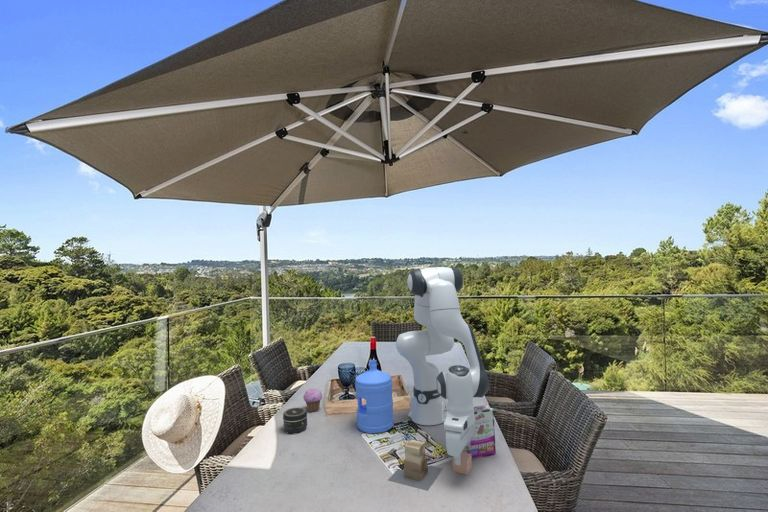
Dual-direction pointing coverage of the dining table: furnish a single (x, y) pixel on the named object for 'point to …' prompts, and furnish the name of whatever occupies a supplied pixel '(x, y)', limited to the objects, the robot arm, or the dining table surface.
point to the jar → (295, 420)
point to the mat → (423, 484)
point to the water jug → (374, 400)
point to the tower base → (416, 469)
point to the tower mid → (415, 451)
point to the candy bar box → (483, 432)
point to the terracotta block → (463, 464)
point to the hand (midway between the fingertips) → (462, 457)
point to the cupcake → (313, 399)
